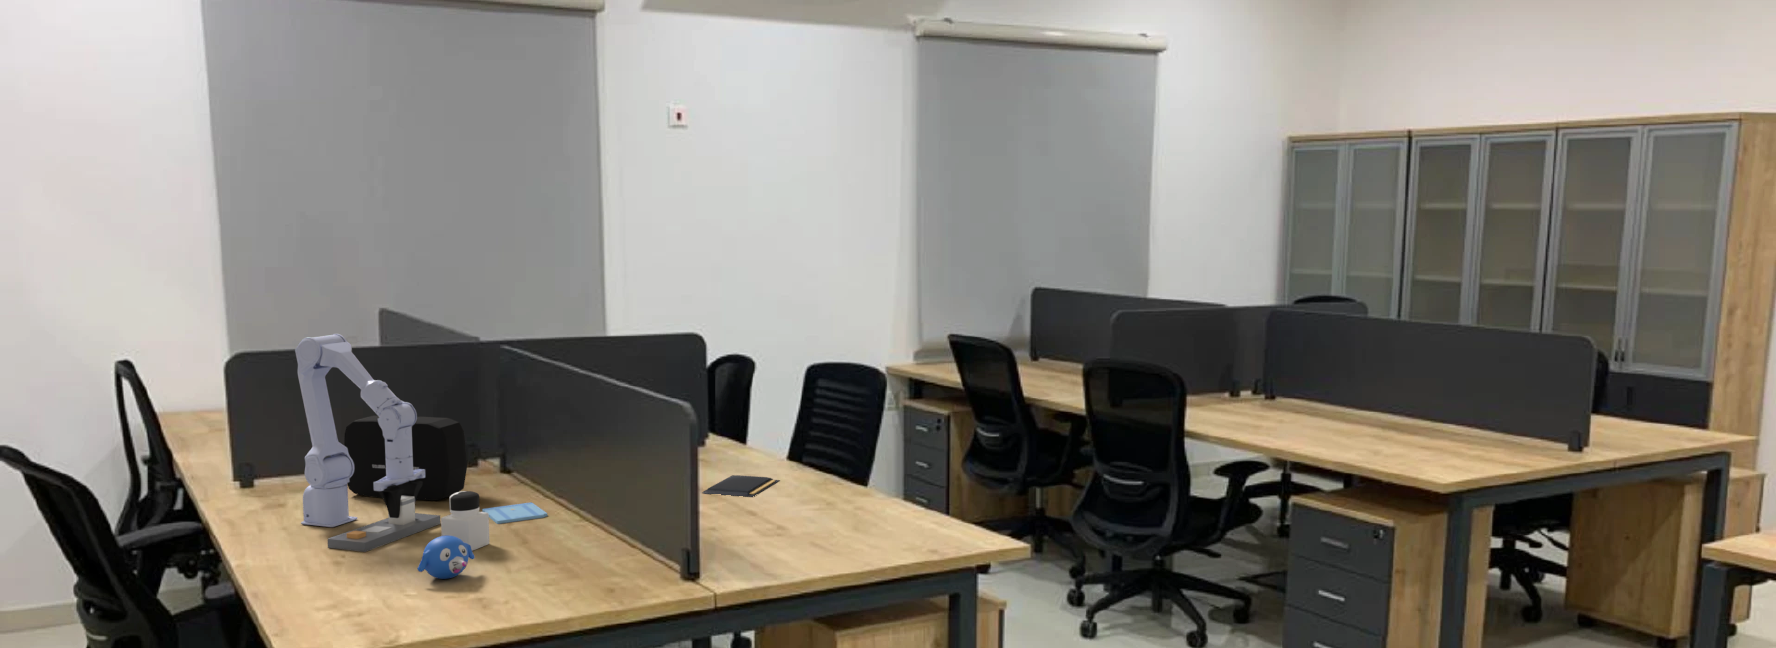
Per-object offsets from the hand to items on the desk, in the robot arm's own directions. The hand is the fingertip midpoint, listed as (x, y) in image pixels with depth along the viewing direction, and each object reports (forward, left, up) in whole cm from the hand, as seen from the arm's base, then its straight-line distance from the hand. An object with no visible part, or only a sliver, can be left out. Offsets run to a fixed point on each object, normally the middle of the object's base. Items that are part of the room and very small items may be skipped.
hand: (401, 515), depth 267 cm
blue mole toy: (+35, -27, -4) cm, 44 cm away
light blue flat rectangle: (+16, +20, -4) cm, 26 cm away
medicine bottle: (+23, -7, -4) cm, 24 cm away
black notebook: (+56, +63, -4) cm, 84 cm away
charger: (0, 0, -2) cm, 2 cm away
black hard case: (-22, +29, -4) cm, 37 cm away
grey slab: (0, -5, -3) cm, 6 cm away
